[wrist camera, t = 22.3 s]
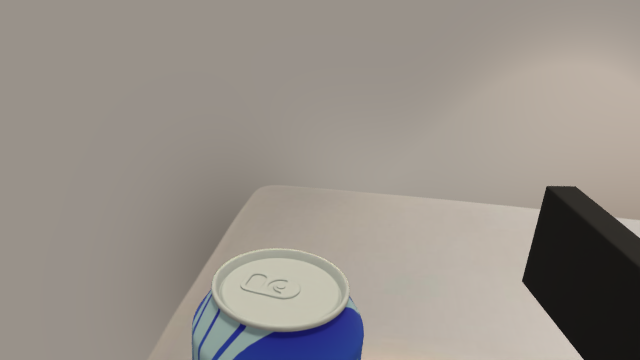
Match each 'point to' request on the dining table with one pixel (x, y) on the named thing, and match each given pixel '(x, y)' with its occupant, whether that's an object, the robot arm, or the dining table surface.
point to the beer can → (277, 310)
